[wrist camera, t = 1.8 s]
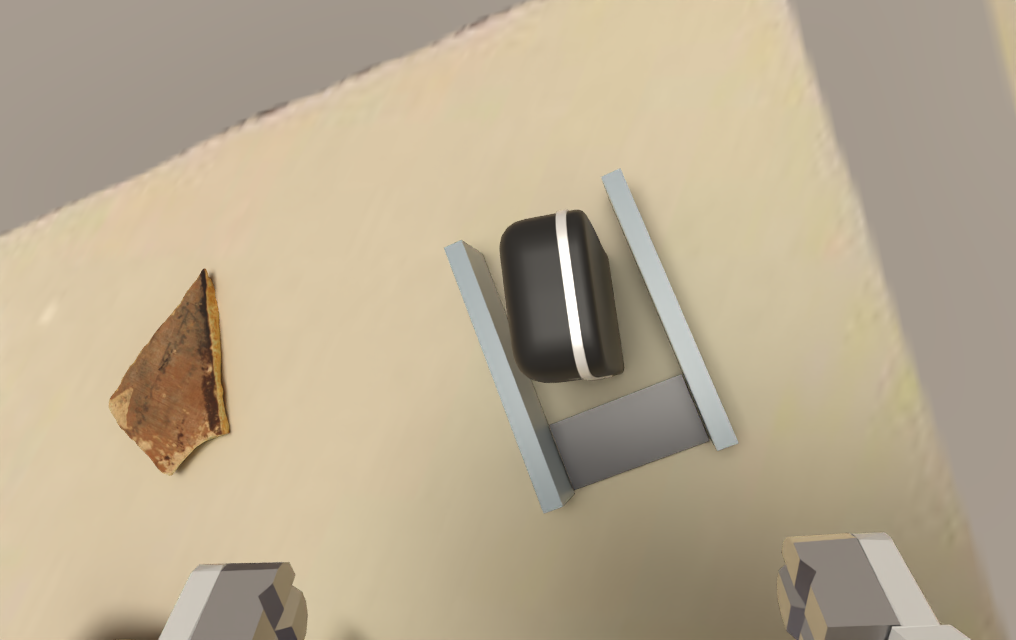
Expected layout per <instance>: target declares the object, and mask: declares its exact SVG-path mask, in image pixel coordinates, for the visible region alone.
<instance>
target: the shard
mask: <svg viewBox="0 0 1016 640" xmlns="http://www.w3.org/2000/svg"><path fill="white" fill-rule="evenodd" d="M222 396H223V388H222V385H221V343H220V328H219V312H218V306H217V301H216V297H215V289H214V286H213V283H212V281H211V278H210V277H208V273H207V271H206V269H203V270H202V271H201V273H200V275H199V277H198V278H197V280H196V281H195V282H194V283H193V284H192V286H191V287H190V289H189V290H188V291H187V293H186V294H185V296H184V297H183V299H182V301H181V303H180V304H179V305H178V306H177V308H176V309H175V310H174V311H173V313H172V314H171V315H170V316H169V318H168V319H167V320H166V321H165V322H164V323H163V324H162V325H161V326H160V328H159V329H158V330H157V331H156V333H155V334H154V335H153V337H152V338H151V340H150V341H149V343H148V344H147V345H146V346H145V347H144V348H143V349H142V351H141V352H140V353H139V355H138V357H137V359H136V360H135V362H134V363H133V364H132V365H131V366H130V367H129V369H128V371H127V372H126V374H125V375H124V377H123V378H122V380H121V384H120V386H119V387H118V388H117V390H116V391H115V393H114V394H113V395H112V396H111V398H110V400H109V409H110V411H111V413H112V414H113V416H114V417H115V419H116V421H117V423H118V425H119V426H120V428H121V429H122V430H124V431H125V433H126V434H127V435H128V436H129V437H130V438H131V439H132V440H134V441H135V442H136V444H137V445H138V446H139V447H140V448H141V449H142V450H143V451H144V452H145V453H146V454H147V455H148V456H149V457H150V459H151V460H152V461H153V463H154V464H155V465H156V467H157V468H158V469H159V470H160V471H161V472H162V473H164V474H167V475H169V476H170V475H173V473H174V472H175V471H176V470H177V468H178V467H179V466H180V464H181V463H182V462H183V461H184V460H185V459H186V457H187V456H188V455H189V454H190V453H191V452H192V451H193V450H194V449H195V448H196V447H197V446H199V445H200V444H202V443H203V442H205V441H208V440H211V439H214V438H217V437H219V436H222V435H225V434H228V433H229V423H228V420H227V416H226V414H225V407H224V403H223V397H222Z"/></svg>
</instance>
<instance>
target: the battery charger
mask: <svg viewBox="0 0 1016 640" xmlns="http://www.w3.org/2000/svg"><path fill="white" fill-rule="evenodd" d="M500 259H501V267H502V275H503V283H504V291H505V299H506V307H507V314H508V322H509V329H510V337H511V344H512V351H513V356H514V360H515V363H516V364H517V366H518V368H519V370H520V371H521V372H522V373H523V374H524V375H525V376H527V377H528V378H529V379H532V380H535V381H538V382H544V383H559V382H567V381H575V380H582V379H585V380H597V379H602V378H608V377H612V375H617V374H621V373H622V372H623V370H624V363H623V356H622V349H621V342H620V335H619V329H618V322H617V315H616V308H615V301H614V295H613V288H612V281H611V274H610V268H609V261H608V257H607V255H606V253H605V251H604V249H603V247H602V245H601V243H600V241H599V239H598V236H597V234H596V232H595V230H594V228H593V226H592V224H591V222H590V221H589V219H588V217H587V216H586V214H585V213H584V212H583V211H581V210H572V211H569V210H568V209H565V210H560V211H557V212H556V214H550V215H545V216H539V217H534V218H529V219H524V220H521V221H518V222H515V223H513V224H512V225H510V226H509V227H508V228H507V229H506V231H505V232H504V234H503V235H502V237H501V242H500Z"/></svg>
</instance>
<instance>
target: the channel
mask: <svg viewBox="0 0 1016 640" xmlns="http://www.w3.org/2000/svg"><path fill="white" fill-rule="evenodd" d="M601 178H602V181H603V184H604V187H605V189H606V192H607V195H608V198H609V200H610V202H611V205H612V207H613V210H614V212H615V214H616V217H617V219H618V221H619V224H620V226H621V228H622V231H623V233H624V235H625V238H626V240H627V243H628V245H629V247H630V250H631V252H632V254H633V257H634V259H635V261H636V264H637V266H638V268H639V271H640V273H641V276H642V278H643V280H644V283H645V285H646V287H647V290H648V292H649V294H650V297H651V299H652V301H653V304H654V306H655V309H656V311H657V313H658V316H659V318H660V320H661V323H662V325H663V327H664V330H665V332H666V334H667V337H668V339H669V342H670V344H671V346H672V349H673V351H674V353H675V356H676V358H677V360H678V363H679V365H680V367H681V370H682V372H683V375H684V377H685V379H686V382H687V384H688V386H689V389H690V391H691V393H692V396H693V398H694V400H695V403H696V405H697V408H698V410H699V412H700V415H701V417H702V419H703V422H704V424H705V426H706V429H707V431H708V433H709V436H710V438H711V441H712V443H713V445H714V446H715V448H716V449H717V451H718V450H721V449H724V448H727V447H730V446H732V445H735V444H738V440H737V438H736V436H735V433H734V431H733V429H732V426H731V424H730V422H729V419H728V417H727V415H726V412H725V410H724V408H723V405H722V403H721V401H720V399H719V396H718V394H717V392H716V389H715V387H714V385H713V382H712V380H711V378H710V375H709V373H708V371H707V368H706V366H705V364H704V361H703V359H702V357H701V354H700V352H699V350H698V347H697V345H696V343H695V340H694V338H693V336H692V334H691V331H690V329H689V327H688V324H687V322H686V320H685V317H684V315H683V313H682V310H681V308H680V306H679V303H678V301H677V299H676V296H675V294H674V292H673V289H672V287H671V285H670V282H669V280H668V278H667V276H666V273H665V271H664V269H663V266H662V264H661V262H660V259H659V257H658V255H657V252H656V250H655V248H654V245H653V243H652V241H651V238H650V236H649V234H648V231H647V229H646V227H645V224H644V222H643V220H642V217H641V215H640V213H639V211H638V208H637V206H636V204H635V201H634V199H633V197H632V194H631V192H630V190H629V187H628V185H627V183H626V180H625V178H624V176H623V173H622V171H621V169H618V170H616V171H613V172H611V173H609V174H607V175H604V176H602V177H601ZM444 249H445V252H446V255H447V257H448V260H449V263H450V265H451V268H452V271H453V273H454V276H455V279H456V281H457V284H458V287H459V289H460V292H461V295H462V297H463V300H464V303H465V305H466V308H467V311H468V313H469V316H470V319H471V321H472V324H473V327H474V329H475V332H476V335H477V337H478V340H479V343H480V345H481V348H482V351H483V353H484V356H485V359H486V361H487V364H488V367H489V369H490V372H491V375H492V377H493V380H494V383H495V385H496V388H497V391H498V393H499V396H500V399H501V401H502V404H503V407H504V409H505V412H506V415H507V417H508V420H509V423H510V425H511V428H512V431H513V433H514V436H515V439H516V441H517V444H518V447H519V449H520V452H521V455H522V457H523V460H524V463H525V465H526V468H527V471H528V473H529V476H530V479H531V481H532V484H533V487H534V489H535V492H536V495H537V497H538V500H539V502H540V505H541V508H542V510H543V513H547V512H549V511H552V510H555V509H558V508H561V507H563V506H564V505H565V504H566V503H567V501H568V500H569V499H570V498H571V497H572V496H573V495H574V494H575V493H574V490H576V489H579V488H581V487H584V486H587V485H590V484H592V483H595V482H598V481H601V480H603V479H606V478H609V477H612V476H614V475H617V474H620V473H623V472H625V471H628V470H631V469H633V468H636V467H639V466H642V465H644V464H647V463H650V462H653V461H655V460H658V459H661V458H664V457H666V456H669V455H672V454H675V453H677V452H680V451H683V450H686V449H688V448H691V447H694V446H697V445H699V444H702V443H705V442H708V441H709V438H708V436H707V434H706V431H705V429H704V427H703V424H702V422H701V419H700V417H699V415H698V412H697V410H696V408H695V405H694V403H693V401H692V398H691V396H690V393H689V391H688V389H687V386H686V384H685V382H684V379H683V377H682V375H681V374H680V375H678V376H675V377H673V378H670V379H667V380H665V381H662V382H660V383H657V384H654V385H652V386H649V387H647V388H644V389H641V390H639V391H636V392H634V393H631V394H629V395H626V396H623V397H621V398H618V399H616V400H613V401H610V402H608V403H605V404H603V405H600V406H597V407H595V408H592V409H590V410H587V411H584V412H582V413H579V414H577V415H574V416H571V417H569V418H566V419H564V420H561V421H559V422H556V423H553V424H551V425H548V423H547V420H546V417H545V415H544V412H543V410H542V407H541V404H540V402H539V399H538V397H537V394H536V391H535V389H534V386H533V384H532V381H531V379H529V378H528V377H527V376H525V375H524V374H523V373H522V372H521V371H520V370H519V368H518V366H517V364H516V363H515V360H514V356H513V351H512V344H511V337H510V329H509V322H508V319H507V316H506V313H505V311H504V308H503V306H502V303H501V300H500V298H499V295H498V293H497V290H496V287H495V285H494V282H493V280H492V277H491V275H490V272H489V269H488V267H487V264H486V262H485V259H484V256H483V254H482V253H480V252H479V251H477V250H476V249H474V248H473V247H471V246H470V245H468V244H467V243H465V242H464V241H462V240H460V241H458V242H456V243H454V244H451V245H449V246H447V247H445V248H444ZM549 427H550V428H549ZM550 429H551V430H550ZM551 432H552V433H551ZM552 434H553V436H552ZM553 437H554V438H553ZM554 440H555V441H554ZM555 442H556V443H555ZM556 445H557V446H556ZM557 447H558V449H557ZM558 450H559V451H558ZM559 452H560V454H559ZM560 455H561V456H560ZM561 458H562V459H561ZM562 460H563V462H562ZM563 463H564V464H563ZM564 465H565V467H564ZM565 468H566V469H565ZM566 471H567V472H566ZM567 473H568V475H567ZM568 476H569V477H568ZM569 478H570V480H569ZM570 481H571V482H570ZM571 484H572V485H571ZM572 486H573V488H572ZM573 489H574V490H573Z"/></svg>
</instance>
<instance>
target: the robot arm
mask: <svg viewBox="0 0 1016 640" xmlns="http://www.w3.org/2000/svg"><path fill="white" fill-rule="evenodd" d="M781 553H782V555H783V558H784V561H785V565H784V566H783V567H782V568H781V569H780V570H778V577H777V596H778V604H779V608H780V612H781V616H782V619H783V622H784V625H785V628H786V631H787V632H788V633H789V634H791V635H792V636H793V637H794V638H795V639H796V640H971V639H970V638H969V637H967V636H966V635H964V634H963V633H962V632H960V631H959V630H958V629H956V628H955V627H953V626H952V625H940V623H939V621H938V619H937V618H936V616H935V614H934V612H933V610H932V609H931V607H930V605H929V603H928V602H927V600H926V598H925V596H924V595H923V593H922V591H921V589H920V587H919V586H918V584H917V582H916V580H915V579H914V577H913V575H912V573H911V572H910V570H909V568H908V566H907V564H906V563H905V561H904V559H903V557H902V556H901V554H900V552H899V550H898V548H897V547H896V545H895V543H894V541H893V540H892V538H891V537H890V536H889V535H888V534H887V533H885V532H874V533H855V534H849V533H841V534H825V535H809V536H793V537H786V539H785V540H784V541H783V546H782V551H781ZM294 578H295V573H294V571H293V569H292V567H291V564H290V562H276V563H228V564H202V565H198V566H197V567H196V568H195V569H194V570H193V571H192V572H191V574H190V576H189V578H188V580H187V582H186V584H185V586H184V588H183V590H182V592H181V594H180V596H179V598H178V600H177V602H176V604H175V606H174V608H173V610H172V612H171V615H170V617H169V619H168V621H167V623H166V625H165V627H164V629H163V631H162V633H161V635H160V637H159V639H158V640H304V639H305V636H306V630H307V618H308V612H307V605H306V600H305V598H304V595H303V592H302V591H300V590H299V589H297V588H296V587H294V586H293V585H292V584H293V581H294Z"/></svg>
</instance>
